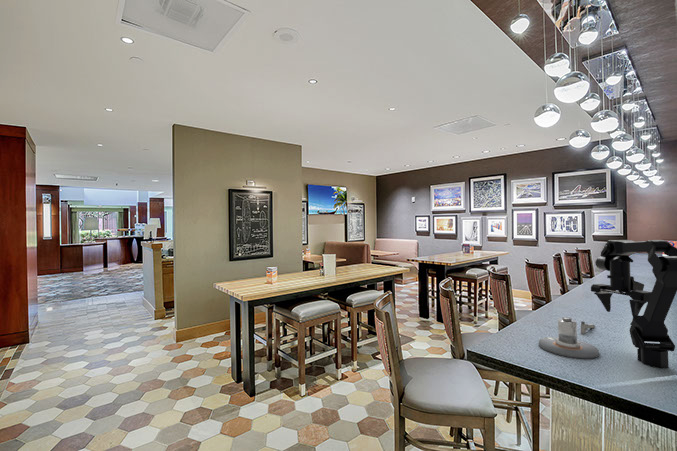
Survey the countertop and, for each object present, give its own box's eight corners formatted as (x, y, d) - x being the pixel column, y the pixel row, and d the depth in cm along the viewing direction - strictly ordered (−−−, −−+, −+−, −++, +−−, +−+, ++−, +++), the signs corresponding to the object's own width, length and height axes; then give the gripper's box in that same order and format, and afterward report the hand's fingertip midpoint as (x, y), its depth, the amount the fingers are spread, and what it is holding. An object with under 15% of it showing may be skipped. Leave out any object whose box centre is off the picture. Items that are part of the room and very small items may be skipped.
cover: (586, 348, 113) (585, 320, 113) (568, 350, 112) (567, 321, 112) (567, 340, 120) (566, 315, 121) (550, 342, 119) (549, 316, 119)
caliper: (584, 337, 131) (583, 322, 131) (580, 336, 132) (580, 321, 132) (595, 327, 145) (594, 313, 145) (592, 326, 145) (591, 313, 145)
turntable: (612, 355, 109) (612, 352, 109) (568, 360, 106) (568, 357, 106) (566, 338, 127) (566, 335, 127) (527, 342, 123) (527, 339, 123)
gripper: (667, 275, 110) (668, 320, 109) (611, 269, 128) (612, 307, 128) (641, 277, 108) (643, 322, 107) (589, 270, 126) (590, 309, 126)
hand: (621, 314), depth 117 cm, fingers open, 9 cm apart
